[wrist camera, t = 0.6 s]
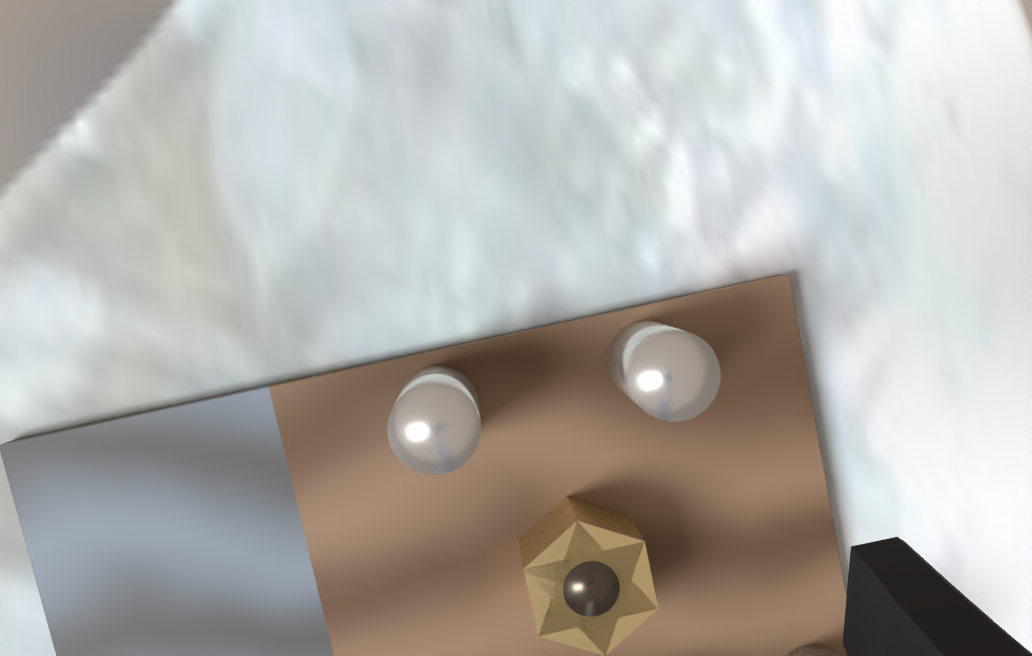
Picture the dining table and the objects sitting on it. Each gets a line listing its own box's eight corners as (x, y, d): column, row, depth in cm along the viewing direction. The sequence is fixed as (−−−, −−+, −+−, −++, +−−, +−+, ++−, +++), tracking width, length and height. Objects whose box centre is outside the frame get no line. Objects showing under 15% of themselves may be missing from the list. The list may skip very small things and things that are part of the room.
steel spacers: (853, 707, 33) (913, 777, 29) (386, 818, 32) (373, 907, 28) (778, 290, 32) (830, 296, 27) (285, 397, 31) (253, 421, 26)
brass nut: (646, 606, 32) (664, 642, 29) (538, 631, 32) (545, 670, 29) (621, 483, 32) (638, 507, 29) (511, 508, 32) (516, 534, 29)
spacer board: (858, 705, 34) (867, 715, 33) (130, 878, 33) (121, 893, 32) (780, 274, 32) (788, 275, 31) (10, 440, 31) (-2, 445, 30)
